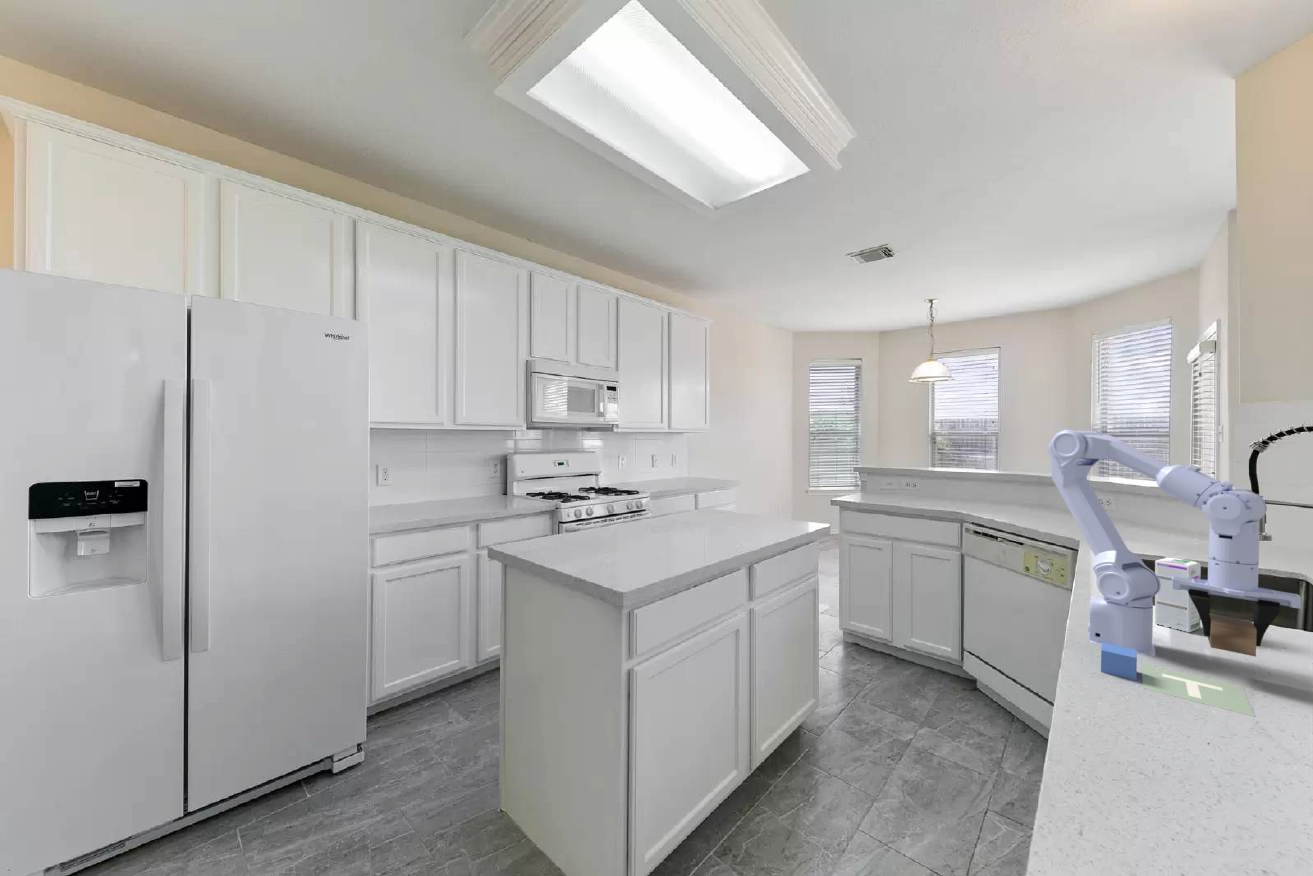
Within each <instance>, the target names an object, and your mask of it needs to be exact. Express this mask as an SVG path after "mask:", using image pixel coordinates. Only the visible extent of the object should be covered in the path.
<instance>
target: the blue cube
mask: <svg viewBox="0 0 1313 876" xmlns="http://www.w3.org/2000/svg"><path fill="white" fill-rule="evenodd" d="M1100 651H1101V652H1100V655H1101V656H1100V657H1101V658H1100V672H1101V673H1104V674H1109V675H1113V676H1117V677H1120V678H1125V679H1127V680H1133V681H1137V671H1138V670H1137V667H1138V666H1137V665H1138V663H1137V662H1138V660H1137V659H1138V658H1137V657H1138V656H1137V654H1138V652H1137V650H1135V649H1131V648H1126V647H1121V646H1117V645H1112V644H1108V643H1103V642H1102V644H1101V650H1100Z"/></svg>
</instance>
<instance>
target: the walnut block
mask: <svg viewBox="0 0 1313 876" xmlns="http://www.w3.org/2000/svg"><path fill="white" fill-rule="evenodd" d="M1209 619H1210V637H1208V636H1207V639H1208V640H1207V641H1208V643H1209V646H1210V648H1211V649H1216V650H1221V651H1227V652H1232V653H1236V654H1241V655H1246V656H1250V657H1255V658H1256V657H1257V646H1256V635H1257V629H1256V628H1255V626H1254V624H1253V622H1254V621H1252V620H1248V619H1242V618H1238V617H1237V618H1236V617H1233V616H1232V617H1231V616H1226V615H1219V614H1215V613H1210V617H1209Z"/></svg>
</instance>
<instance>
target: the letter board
mask: <svg viewBox="0 0 1313 876" xmlns="http://www.w3.org/2000/svg"><path fill="white" fill-rule="evenodd" d="M1141 679H1142V680H1141V681H1142V683H1141V684H1142V689H1145V690H1148V691H1152V692H1156V693H1161V694H1163V695H1168V696H1172V697H1176V698H1180V699H1184V700H1188V701H1192V702H1196V703H1199V704H1203V705H1207V706H1212V707H1215V708H1219V709H1223V710H1227V711H1231V712H1235V713H1239V714H1242V715H1247V716H1250V717H1255V718H1256V715H1255V712H1254V711H1253V709H1252V706H1251V703H1250V701H1249V699H1248V697H1247V694H1246V693H1245V690H1244V688H1243V687H1242V686H1241V685H1235V684H1231V683H1227V682H1224V681H1223V682H1222V681H1219V680H1215V679H1209V678H1205V677H1202V676H1201V677H1200V676H1196V675H1193V674H1189V673H1188V674H1187V673H1183V672H1180V671H1175V670H1171V669H1168V668H1162V667H1158V666H1153V665H1149V664H1144V663H1141Z"/></svg>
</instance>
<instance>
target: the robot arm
mask: <svg viewBox="0 0 1313 876" xmlns="http://www.w3.org/2000/svg"><path fill="white" fill-rule="evenodd" d="M1046 450H1047V451H1048V453H1049V455H1050V460H1051V461H1050V464H1051V467H1050V469H1051V471H1050V472H1051V479H1052V481H1053V483H1054V485H1055V486H1056V489H1057V490H1058V491H1059V494H1060V495H1061V496H1062V499H1063V501H1064V502H1065V505H1066V507H1067V508H1068V510H1069V511H1070V513H1071V515H1072V517H1073V518H1074V521H1075V523H1076V525H1077V526H1078V528H1079V529H1080V532H1081V534H1082V535H1083V537H1084V539H1085V540H1086V542H1087V544H1088V545H1089V547H1090V550H1091V551H1092V553H1093V554H1094V561H1093V564H1092V566H1091V567H1092V570H1093V571H1094V574H1095V576H1096V577H1095V578H1096V580H1095V581H1096V587H1097V589H1098V592H1099V593H1100V594H1101V595H1102V596H1095V595H1091V596H1090V601H1089V602H1090V605H1089V622H1088V623H1087V632H1089V636H1088V639H1089V640H1088V641H1089V642H1090V643H1092V644H1098V645H1102V642H1103V643H1108V644H1112V645H1117V646H1121V647H1126V648H1131V649H1135V650H1137V654H1142V655H1146V656H1151V657H1156V649H1155V644H1154V643H1153V627H1154V626H1153V625H1154V624H1153V622H1154V621H1153V620H1154V619H1153V618H1154V617H1153V616H1154V602H1153V597H1155V595H1156V594H1157V593H1158V592H1159V591H1160V588H1161V583H1160V580H1159V578H1158V576H1157V575H1156V574H1155V571H1154V570H1152V569H1150V568H1149V567H1148V566H1147V565H1146V564H1145V563H1144V561H1143V560H1142V558H1141V557H1139V556H1138V555H1137V554H1135V553H1134V552H1132V551H1131V550H1130V549H1128V547H1127V545H1126V544H1125V542H1124V540H1123V538H1122V537H1121V535H1120V533H1119V531H1118V530H1117V528H1116V526H1115V525H1114V523H1113V522H1112V520H1111V518H1110V516H1109V514H1108V513H1107V511H1106V510H1105V508H1104V506H1103V504H1102V502H1101V501H1100V499H1099V498H1098V496H1097V494H1096V492H1095V490H1094V489H1093V487H1092V485H1091V483H1090V482H1089V480H1088V479H1087V477H1088V475H1089V473H1090V471H1091V470H1092V468H1093V467H1094V466H1095V465H1096V464H1097V463H1098V462H1099V461H1101V460H1111V461H1113V462H1115V463H1118V464H1120V465H1122V466H1124V467H1127V468H1129V469H1131V470H1134V471H1136V472H1138V473H1141V474H1142V475H1144V476H1147V477H1149V478H1150V479H1151V478H1152V480H1153V479H1154V480H1155V482H1156V484H1157V487H1158V489H1159V490H1160V491H1162V492H1165V493H1166V494H1168V495H1170V496H1172V497H1174V498H1176V499H1178V500H1180V501H1182V502H1184V503H1186V504H1188V505H1190V506H1192V507H1194V508H1196V509H1197V510H1200V511H1202V514H1203V515H1204V516H1205V517H1206V518H1207V519H1208V521H1209V528H1208V529H1209V531H1208V553H1207V554H1208V558H1207V559H1208V560H1207V579H1202V578H1201V579H1190V578H1180V577H1173V576H1172V584H1171V587H1172V589H1175V590H1187V591H1188V593H1189V596H1190V598H1191V600H1192V601H1193V603H1194V605H1195V607H1196V609H1197V611H1198V613H1199V616H1200V623H1201V627H1202V634H1203V636H1205V637H1207V638H1208V637H1210V619H1209V617H1210V614H1211V601H1212V600H1211V599H1210V598H1211V597H1210V595H1214V596H1222V597H1226V598H1234V599H1240V600H1246V601H1247V600H1248V601H1252V607H1253V608H1252V610H1253V612H1252V613H1253V621H1252V622H1253V624H1254V626H1255V628H1256V629H1257V635H1256V647H1261V644H1262V640H1263V638H1264V636H1265V634H1266V632H1267V630H1268V628H1269V627H1270V626H1271V624H1272V622H1273V621H1275V619H1276V618H1277V617H1279V616H1280V614H1281V613H1282V607H1281V606H1285V607H1289V608H1294V609H1299V610H1301V605H1302V603H1301V601H1302V596H1300V595H1299V594H1298V593H1292V592H1286V591H1281V590H1280V591H1279V590H1274V589H1269V588H1264V587H1259V567H1260V566H1259V563H1260V521H1259V520H1261V519H1263V517H1264V516H1265V515H1266V514H1267V508H1268V507H1267V503H1266V502H1265V500H1264V499H1263V498H1262V497H1261V496H1260V495H1258V494H1257V493H1255V492H1254V491H1253V490H1251V489H1248V488H1235V489H1234V488H1233V486H1234V484H1233V483H1232V482H1229V481H1227V480H1226V481H1221V480H1219V479H1217V478H1214V477H1212V476H1209V475H1207V474H1205V473H1203V472H1202V471H1201V470H1202V468H1201V467H1199V466H1197V465H1193V464H1191V465H1188V466H1187V465H1186V464H1175V465H1170V464H1167V463H1165V462H1163V461H1161V460H1159V459H1157V458H1155V457H1153V456H1151V455H1149V454H1147V453H1146V452H1144V451H1142V450H1139V449H1138V448H1136V447H1134V446H1132V445H1130V444H1129V443H1126V442H1124V441H1122V440H1120V439H1118V438H1117V437H1115V436H1113V435H1109V434H1104V433H1103V432H1102V431H1099V430H1095V429H1091V430H1090V429H1088V430H1072V429H1064V430H1061V431H1058V432H1057V433H1056V434H1055V435H1054V436H1053V437H1052V439H1051V441H1050V442H1049V445H1048V446H1047V449H1046Z"/></svg>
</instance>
